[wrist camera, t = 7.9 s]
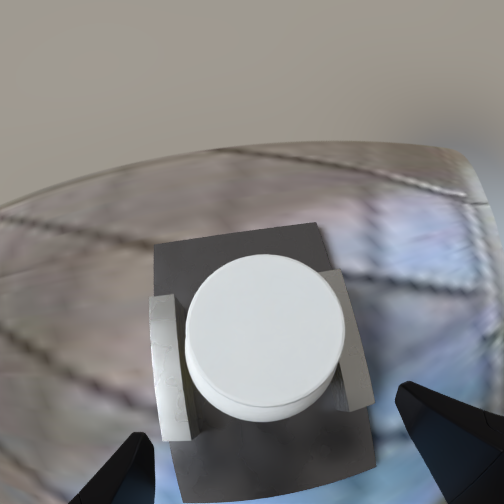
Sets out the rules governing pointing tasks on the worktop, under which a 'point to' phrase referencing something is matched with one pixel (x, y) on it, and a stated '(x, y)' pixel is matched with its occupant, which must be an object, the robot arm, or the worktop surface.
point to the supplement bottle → (264, 337)
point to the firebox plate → (241, 431)
